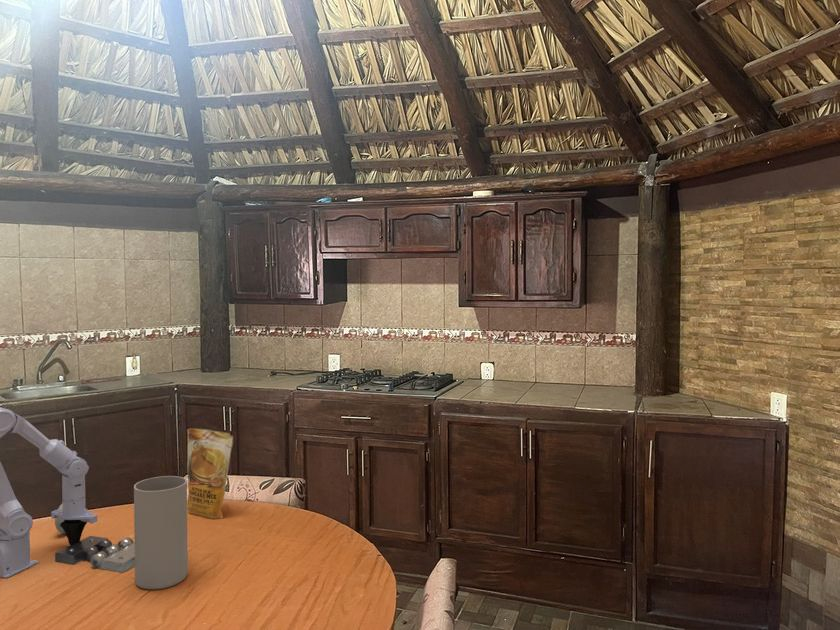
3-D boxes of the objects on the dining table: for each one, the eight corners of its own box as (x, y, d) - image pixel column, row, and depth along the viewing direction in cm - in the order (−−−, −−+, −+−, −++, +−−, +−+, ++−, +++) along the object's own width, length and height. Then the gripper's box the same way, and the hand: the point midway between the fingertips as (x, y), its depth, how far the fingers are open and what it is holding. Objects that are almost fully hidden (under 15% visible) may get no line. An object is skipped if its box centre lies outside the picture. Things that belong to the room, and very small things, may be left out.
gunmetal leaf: (86, 566, 162) (85, 553, 162) (55, 561, 165) (55, 548, 165) (119, 548, 174) (119, 536, 173) (90, 544, 176) (90, 532, 176)
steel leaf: (122, 573, 158) (122, 559, 158) (89, 567, 161) (88, 554, 161) (156, 553, 171) (155, 540, 170) (124, 548, 174) (124, 536, 173)
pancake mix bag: (195, 505, 209) (194, 425, 208) (235, 515, 200) (235, 431, 199) (179, 511, 203) (178, 429, 202) (220, 522, 194) (219, 436, 193)
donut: (63, 539, 180) (63, 506, 179) (52, 538, 180) (51, 505, 180) (83, 526, 190) (82, 494, 189) (72, 525, 190) (71, 494, 190)
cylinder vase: (137, 572, 159) (136, 478, 158) (187, 565, 163) (187, 474, 163) (132, 594, 147) (131, 493, 146) (187, 586, 152) (186, 488, 151)
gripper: (105, 496, 174) (106, 542, 175) (65, 491, 178) (66, 536, 179) (85, 504, 168) (86, 552, 168) (44, 499, 172) (45, 545, 172)
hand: (74, 544), depth 173 cm, fingers closed
